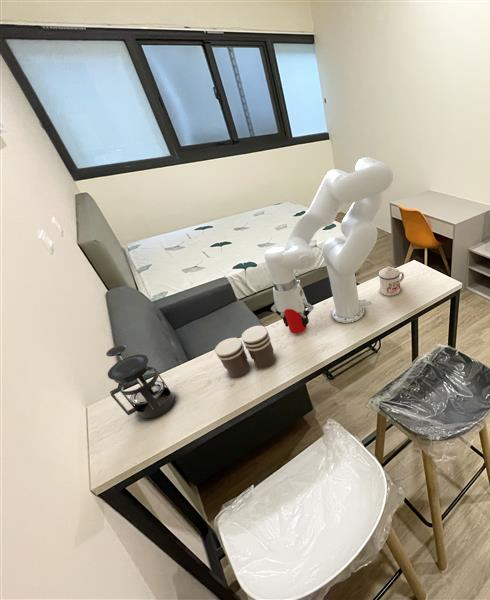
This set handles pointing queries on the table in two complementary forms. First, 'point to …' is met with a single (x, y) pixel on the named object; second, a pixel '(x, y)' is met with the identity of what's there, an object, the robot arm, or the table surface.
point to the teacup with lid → (390, 281)
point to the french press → (146, 392)
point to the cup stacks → (235, 355)
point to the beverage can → (294, 321)
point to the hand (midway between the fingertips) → (297, 324)
